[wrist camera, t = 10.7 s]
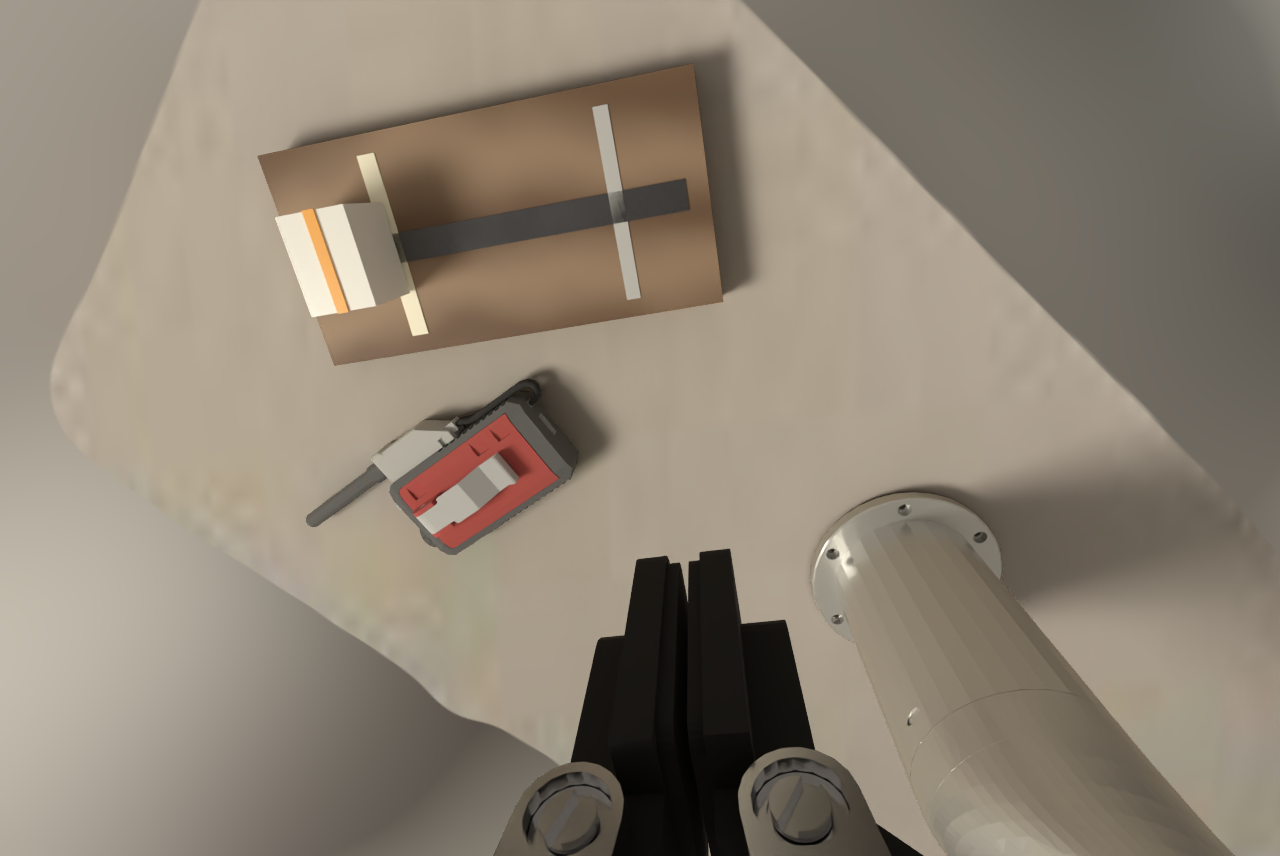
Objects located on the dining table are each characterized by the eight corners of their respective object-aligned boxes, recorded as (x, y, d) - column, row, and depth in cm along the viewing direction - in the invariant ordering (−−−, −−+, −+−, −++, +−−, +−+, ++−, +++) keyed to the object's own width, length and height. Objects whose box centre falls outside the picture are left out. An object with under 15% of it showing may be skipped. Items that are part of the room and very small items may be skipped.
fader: (410, 294, 35) (375, 307, 31) (352, 304, 35) (311, 318, 31) (381, 201, 33) (341, 202, 29) (321, 213, 34) (273, 216, 30)
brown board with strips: (721, 296, 36) (723, 301, 34) (350, 357, 39) (333, 365, 37) (692, 70, 32) (693, 62, 30) (279, 157, 35) (256, 155, 33)
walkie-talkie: (516, 346, 39) (308, 502, 44) (497, 364, 34) (270, 534, 40) (599, 450, 41) (392, 587, 46) (590, 478, 37) (364, 625, 42)
